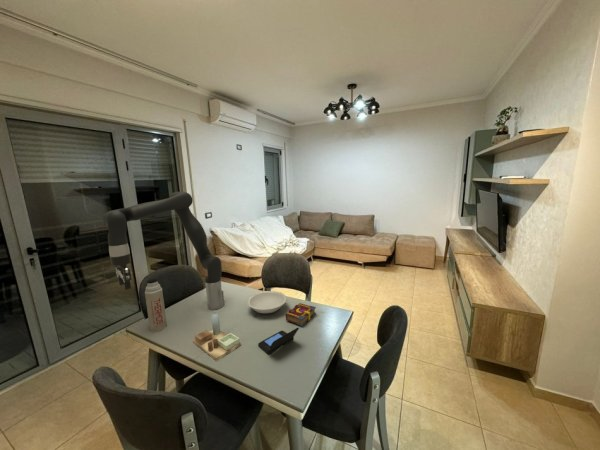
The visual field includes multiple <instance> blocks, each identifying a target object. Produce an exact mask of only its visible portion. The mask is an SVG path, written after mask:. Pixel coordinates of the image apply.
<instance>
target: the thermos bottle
mask: <svg viewBox="0 0 600 450" xmlns="http://www.w3.org/2000/svg"><path fill="white" fill-rule="evenodd" d="M146 284H147V285H146V287H145V291H144V297H145V305H146V310H147V318H148V324H149V326H148V327H149V331H150V332H151V333H157V332H162V331H163V330H165V329H166V328H167V327H168V325H167V324H168V323H167V317H166V316H167V315H166V308H165V300H164V295H163V293H164V292H163V287H161V286H162V285H161V284H160V283H159V282H158V278H150V279H148V280H146Z"/></svg>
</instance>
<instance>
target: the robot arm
mask: <svg viewBox="0 0 600 450" xmlns="http://www.w3.org/2000/svg"><path fill="white" fill-rule="evenodd" d="M193 200H194V199H193V196H192V194H190V193H189V192H186V191H174V192H172V193H171V194H170V196H169V197H168V198H164V199H160V200H153V201H147V202H143V203H139V204H134V205H131V206H129V207H123V208H118V209H114V210H113V209H112V210H109V211H107V212H106V213H104V215H103V216H102V220H103V222H104V224H105V225H106V226H107V228H108V234H107V242H108V243H107V244H108V253H109V259H110V264H111V266H113V267H114V270H115V275H116V277H117V279H118V283H119V286H124V290H130V289H132V286H131V281H132V275H131V268H130V267H129V266H127V265H128V264H130V263H131V261H132V259H131V257H132V256H131V252H130V247H129V241H128V236H127V227H128V226H127V223H128V222H131V221H139V220H143V219H146V218H150V217H153V216H156V215H159V214H162V213H166V212H169V211H175V213H176V215H177V216H178V218H179V220H180V222H181V225H182V227H183V228H184V231H185V233H186V235H187V237H188V239H189V241H190V242H191V244H192V246H193V248H194V250H195V252H196V253H197V254H196V255H197V256H198V259H199V262H200V265H201V267H202V268H203V269H205V270H206V271H207V275H206V276H205V278H204V284H205V293H206V303H207V309H208V310H210V311H215V310H218V309H221V308H223V306H225V296H224V290H223V289H222V274H223V273H222V272H223V271H222V260H221V258H220V257H219V256H215V255H213V254H212V253H211V251H210V249H209V246H208V238H207V233H206V232H205V229H204V227H203V225H202V224H201V222H200V221H199V220H198V219H197V218H196V217H195V216H194V214H193V213H192V211H191V209H190V207H191V206H192V205H193Z"/></svg>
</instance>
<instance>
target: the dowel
mask: <svg viewBox="0 0 600 450" xmlns="http://www.w3.org/2000/svg"><path fill="white" fill-rule="evenodd" d="M210 317H211V325H212V326H211V327H212V328H211V329H212V330H213V335H219V334H220V331H221V323H220V314H219V313H217V312H216V313H212V314H211V316H210Z"/></svg>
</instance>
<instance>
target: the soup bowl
mask: <svg viewBox="0 0 600 450" xmlns="http://www.w3.org/2000/svg"><path fill="white" fill-rule="evenodd" d="M287 301H288V298H287V296H286V295H285V294H284V293H282V292H279V291H276V290H268V291H261V292H257V293H254V294H252V295H251V296H250V297H249V298H247V302H246V303H247V305H248V307H250V309H252V310H253V311H255V312H257V313H259V314H272V313H275V312H276V311H278V310H280V309H281V308H282V307H283V306H284V305H285V304H286V302H287Z"/></svg>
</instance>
